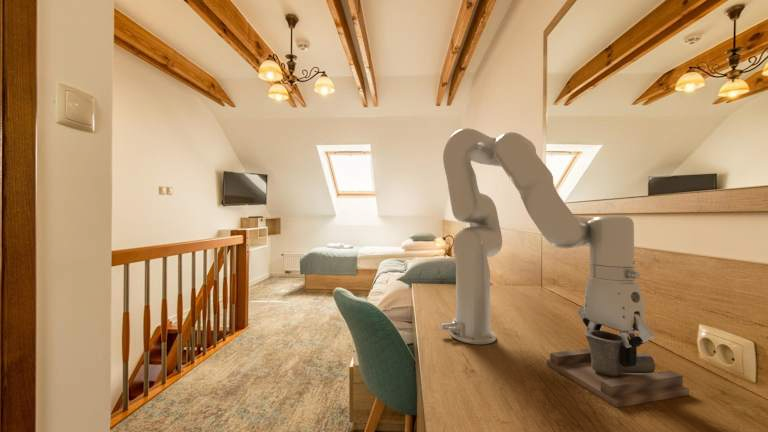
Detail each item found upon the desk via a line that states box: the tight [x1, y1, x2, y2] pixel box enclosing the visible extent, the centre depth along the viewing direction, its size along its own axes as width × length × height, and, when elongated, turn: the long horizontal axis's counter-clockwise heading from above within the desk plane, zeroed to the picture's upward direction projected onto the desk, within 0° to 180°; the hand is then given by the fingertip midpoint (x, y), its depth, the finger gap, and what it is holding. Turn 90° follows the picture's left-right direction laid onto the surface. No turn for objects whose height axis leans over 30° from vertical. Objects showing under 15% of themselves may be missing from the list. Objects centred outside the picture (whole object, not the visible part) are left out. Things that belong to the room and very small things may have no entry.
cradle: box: [546, 347, 690, 408], centre depth 62 cm, size 18×16×3 cm
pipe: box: [584, 330, 656, 376], centre depth 62 cm, size 6×13×8 cm, turn 85°
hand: (611, 357), depth 62 cm, fingers open, 6 cm apart
